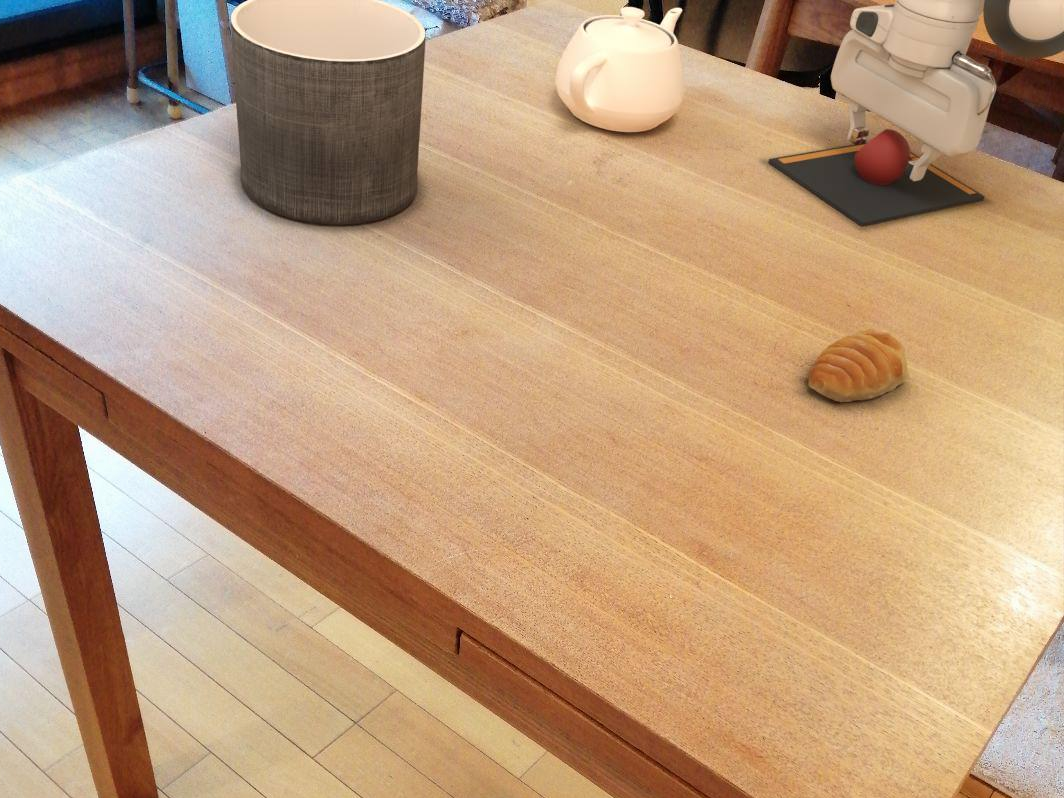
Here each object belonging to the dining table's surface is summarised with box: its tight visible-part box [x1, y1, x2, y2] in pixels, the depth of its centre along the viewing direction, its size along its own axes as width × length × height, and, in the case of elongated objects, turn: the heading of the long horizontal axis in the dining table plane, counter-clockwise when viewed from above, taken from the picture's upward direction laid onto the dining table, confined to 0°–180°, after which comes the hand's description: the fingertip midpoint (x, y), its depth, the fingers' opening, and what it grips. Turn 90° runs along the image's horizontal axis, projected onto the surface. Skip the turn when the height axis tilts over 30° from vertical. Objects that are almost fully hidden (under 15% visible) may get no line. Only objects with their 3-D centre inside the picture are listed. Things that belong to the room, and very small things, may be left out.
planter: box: [229, 0, 427, 225], centre depth 106 cm, size 18×18×16 cm
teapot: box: [554, 6, 686, 133], centre depth 130 cm, size 25×16×12 cm, turn 147°
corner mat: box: [768, 141, 986, 227], centre depth 128 cm, size 20×16×1 cm
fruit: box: [855, 128, 922, 185], centre depth 125 cm, size 6×6×8 cm
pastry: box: [807, 328, 910, 404], centre depth 95 cm, size 9×7×4 cm
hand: (883, 159), depth 126 cm, fingers open, 8 cm apart
